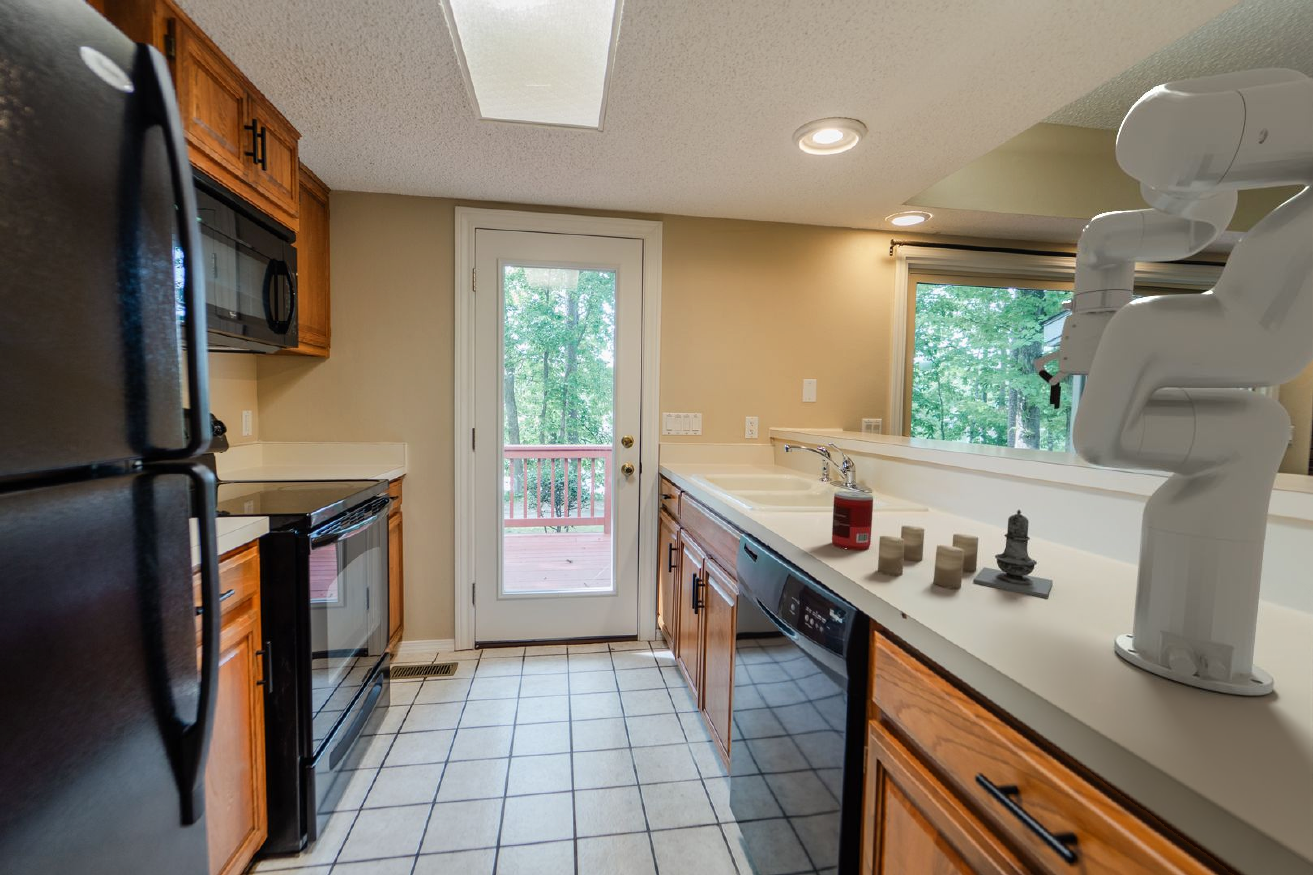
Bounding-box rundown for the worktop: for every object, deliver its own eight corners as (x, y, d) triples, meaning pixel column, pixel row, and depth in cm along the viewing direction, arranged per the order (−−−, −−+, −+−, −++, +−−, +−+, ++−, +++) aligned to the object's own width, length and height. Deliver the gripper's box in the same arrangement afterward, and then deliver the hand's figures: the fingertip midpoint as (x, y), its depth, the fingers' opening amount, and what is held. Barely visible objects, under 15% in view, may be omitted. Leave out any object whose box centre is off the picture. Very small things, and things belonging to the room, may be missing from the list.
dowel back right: (973, 573, 93) (976, 540, 93) (948, 568, 96) (950, 536, 96) (978, 568, 96) (980, 536, 96) (953, 563, 99) (955, 532, 99)
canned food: (873, 545, 112) (876, 493, 111) (866, 552, 105) (869, 498, 104) (836, 539, 116) (839, 489, 115) (827, 546, 109) (830, 494, 108)
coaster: (1047, 598, 81) (1047, 594, 81) (973, 582, 88) (973, 579, 88) (1052, 583, 89) (1052, 580, 89) (983, 570, 95) (984, 567, 95)
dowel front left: (898, 577, 89) (900, 542, 89) (874, 571, 92) (876, 538, 92) (905, 572, 92) (907, 538, 92) (881, 567, 95) (883, 534, 95)
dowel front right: (956, 589, 83) (959, 553, 83) (929, 582, 86) (933, 547, 86) (964, 585, 86) (968, 549, 86) (938, 578, 89) (941, 544, 89)
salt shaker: (1043, 583, 86) (1049, 512, 86) (1020, 587, 84) (1025, 513, 84) (1008, 573, 92) (1013, 505, 91) (985, 575, 90) (990, 506, 89)
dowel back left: (919, 562, 99) (921, 531, 99) (897, 557, 102) (898, 527, 102) (924, 558, 102) (926, 528, 102) (903, 554, 105) (905, 524, 105)
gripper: (1035, 307, 89) (1028, 407, 90) (1178, 296, 78) (1168, 411, 79) (1037, 314, 95) (1030, 408, 95) (1170, 305, 84) (1161, 411, 85)
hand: (1092, 409), depth 87 cm, fingers open, 9 cm apart
